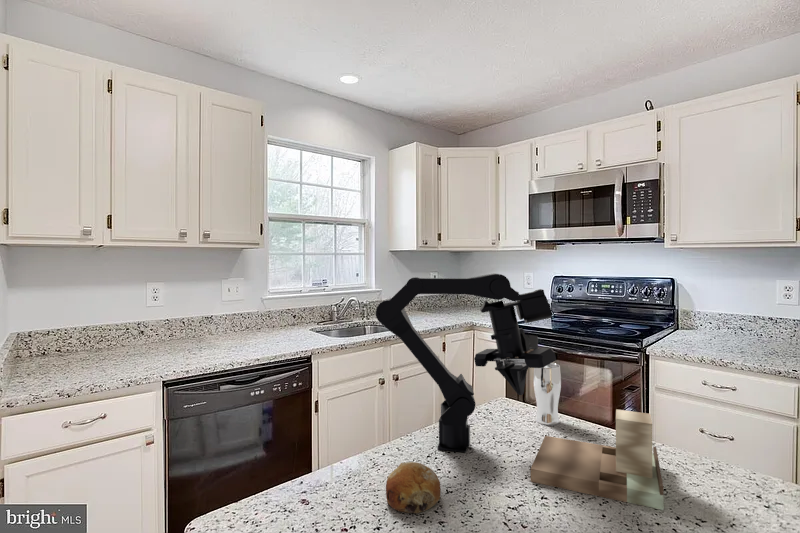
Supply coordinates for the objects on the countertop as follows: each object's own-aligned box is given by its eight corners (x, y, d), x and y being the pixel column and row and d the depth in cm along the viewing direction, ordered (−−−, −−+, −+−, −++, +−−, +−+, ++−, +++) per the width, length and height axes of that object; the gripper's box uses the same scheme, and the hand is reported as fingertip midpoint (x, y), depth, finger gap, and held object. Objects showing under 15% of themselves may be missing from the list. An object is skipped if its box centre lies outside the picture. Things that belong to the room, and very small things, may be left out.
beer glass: (565, 425, 113) (564, 368, 113) (538, 425, 113) (537, 368, 113) (555, 416, 120) (555, 362, 120) (530, 416, 120) (530, 362, 120)
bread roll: (444, 514, 80) (447, 466, 83) (430, 518, 71) (435, 465, 74) (393, 505, 83) (398, 459, 86) (374, 508, 74) (381, 457, 77)
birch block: (615, 471, 83) (615, 418, 83) (616, 458, 88) (616, 409, 88) (652, 478, 80) (652, 423, 80) (650, 464, 85) (650, 413, 85)
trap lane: (530, 481, 84) (530, 460, 84) (545, 446, 100) (545, 429, 100) (663, 510, 74) (663, 486, 74) (656, 466, 90) (656, 446, 90)
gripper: (560, 316, 98) (576, 384, 97) (494, 321, 112) (508, 381, 112) (533, 329, 90) (550, 403, 90) (466, 332, 105) (481, 396, 104)
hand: (521, 394), depth 99 cm, fingers closed
